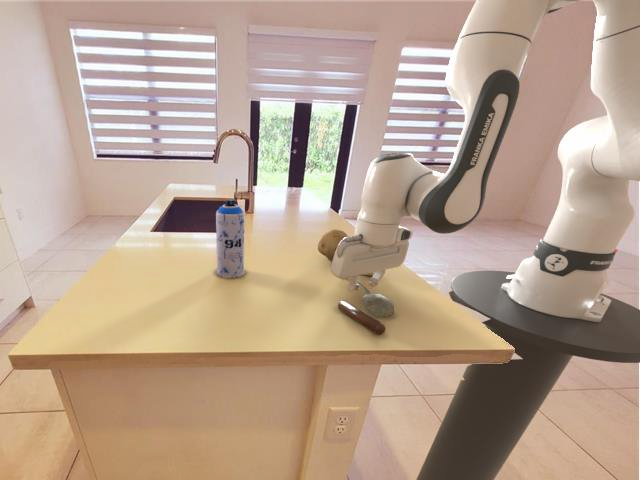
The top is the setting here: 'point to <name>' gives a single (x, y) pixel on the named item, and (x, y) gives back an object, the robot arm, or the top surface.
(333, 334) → the top surface
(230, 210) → the aerosol can
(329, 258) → the potato
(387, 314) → the soupspoon
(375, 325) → the walnut dowel
